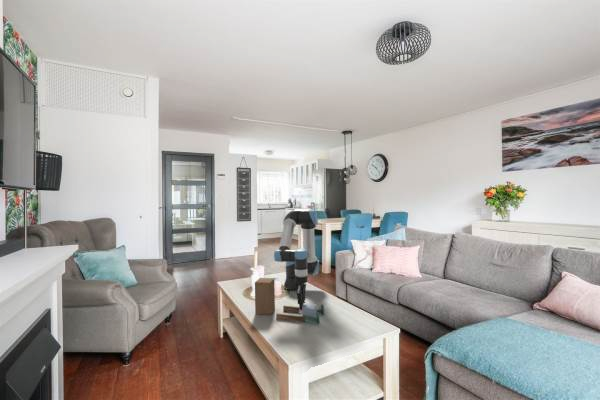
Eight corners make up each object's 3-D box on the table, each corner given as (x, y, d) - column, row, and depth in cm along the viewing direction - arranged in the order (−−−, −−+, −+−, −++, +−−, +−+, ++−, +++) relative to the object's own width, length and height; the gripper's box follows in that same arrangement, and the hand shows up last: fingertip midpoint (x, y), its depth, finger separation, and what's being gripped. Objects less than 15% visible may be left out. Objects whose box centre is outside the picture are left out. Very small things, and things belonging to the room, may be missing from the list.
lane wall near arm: (284, 310, 182) (284, 300, 182) (323, 314, 175) (323, 304, 174) (283, 310, 181) (283, 301, 181) (323, 315, 173) (323, 305, 173)
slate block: (305, 314, 174) (305, 303, 174) (316, 316, 172) (316, 304, 172) (302, 319, 167) (302, 307, 167) (313, 321, 165) (313, 309, 165)
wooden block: (270, 315, 175) (269, 282, 174) (255, 314, 177) (254, 282, 176) (275, 308, 184) (274, 278, 184) (260, 307, 186) (259, 277, 186)
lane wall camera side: (277, 318, 170) (276, 308, 170) (319, 322, 163) (319, 312, 163) (276, 319, 169) (276, 309, 169) (318, 324, 161) (318, 313, 161)
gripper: (298, 272, 178) (299, 309, 179) (291, 278, 166) (292, 318, 166) (310, 273, 176) (310, 310, 176) (304, 278, 164) (304, 319, 164)
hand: (301, 314), depth 171 cm, fingers closed
